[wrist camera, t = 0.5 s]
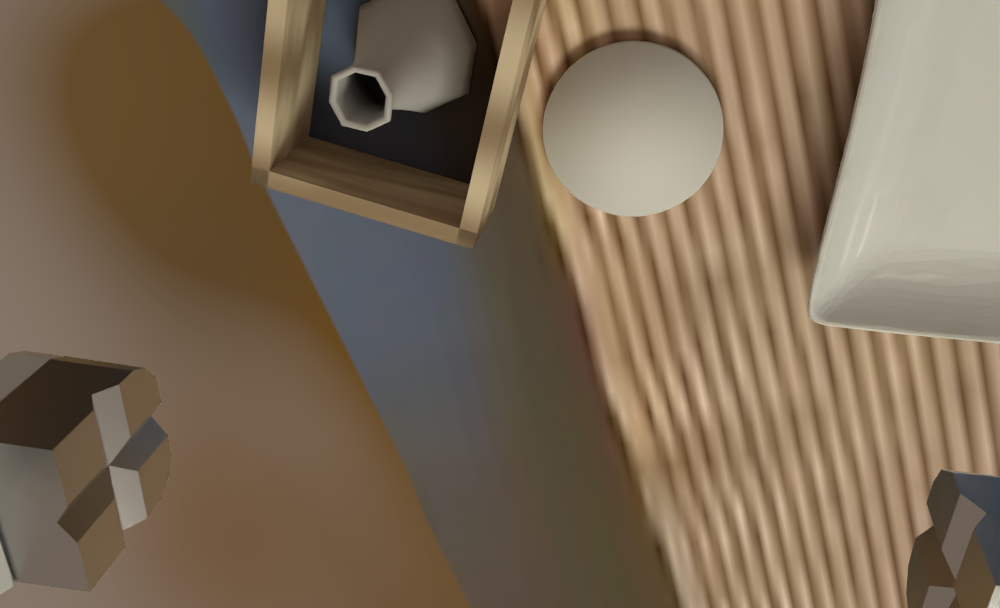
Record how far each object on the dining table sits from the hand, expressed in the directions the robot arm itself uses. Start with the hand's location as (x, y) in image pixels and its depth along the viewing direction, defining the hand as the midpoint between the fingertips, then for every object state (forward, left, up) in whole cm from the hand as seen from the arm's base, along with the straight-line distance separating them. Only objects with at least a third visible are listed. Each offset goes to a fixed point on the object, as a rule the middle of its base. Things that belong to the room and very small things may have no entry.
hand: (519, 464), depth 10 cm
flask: (+9, -11, -44) cm, 46 cm away
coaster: (+10, +2, -43) cm, 45 cm away
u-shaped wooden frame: (+10, -11, -43) cm, 46 cm away
